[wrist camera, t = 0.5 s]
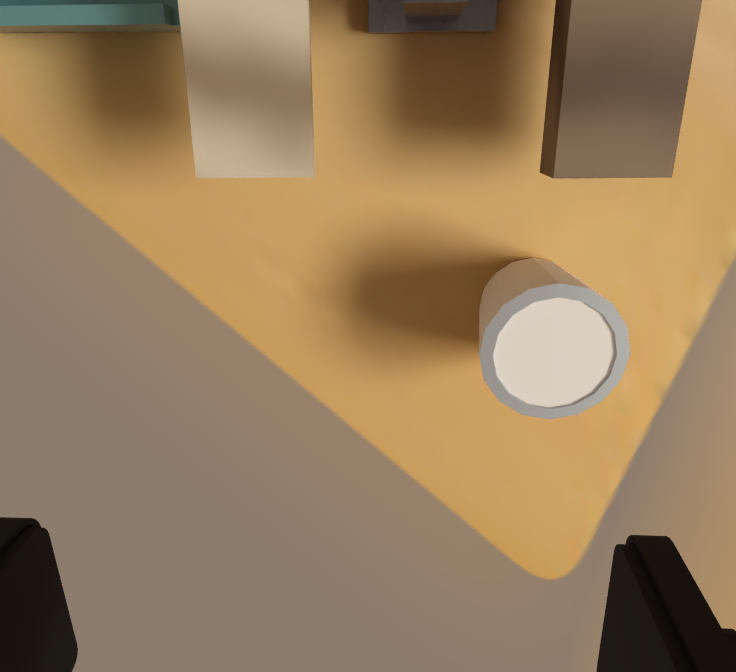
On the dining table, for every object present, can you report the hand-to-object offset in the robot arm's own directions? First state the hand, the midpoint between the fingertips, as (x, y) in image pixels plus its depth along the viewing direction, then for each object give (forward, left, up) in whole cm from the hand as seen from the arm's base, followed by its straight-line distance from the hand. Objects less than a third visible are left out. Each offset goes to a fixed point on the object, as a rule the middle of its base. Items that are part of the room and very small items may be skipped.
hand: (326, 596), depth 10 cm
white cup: (+4, +8, -27) cm, 28 cm away
